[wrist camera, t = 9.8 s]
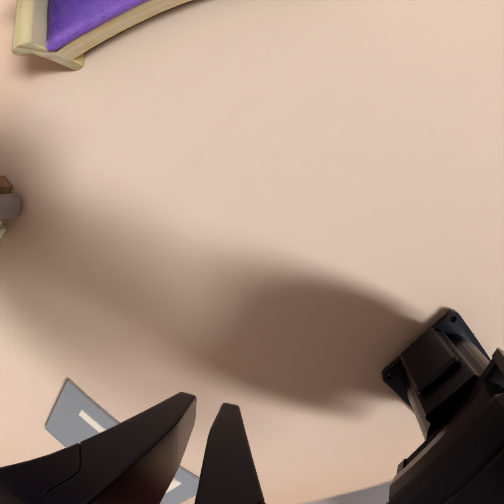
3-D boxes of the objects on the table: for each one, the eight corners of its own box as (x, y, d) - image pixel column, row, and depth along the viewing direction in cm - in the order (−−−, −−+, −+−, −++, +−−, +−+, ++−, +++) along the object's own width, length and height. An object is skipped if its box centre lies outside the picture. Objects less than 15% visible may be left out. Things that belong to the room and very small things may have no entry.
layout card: (211, 484, 24) (210, 487, 24) (160, 511, 27) (158, 514, 26) (69, 378, 24) (66, 381, 23) (46, 427, 27) (44, 428, 26)
